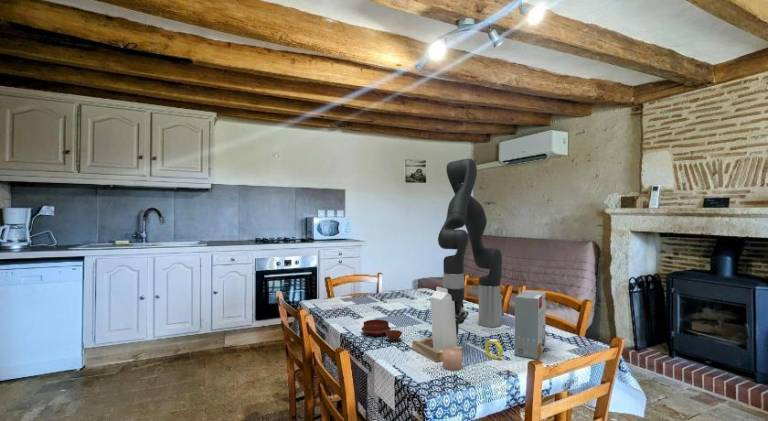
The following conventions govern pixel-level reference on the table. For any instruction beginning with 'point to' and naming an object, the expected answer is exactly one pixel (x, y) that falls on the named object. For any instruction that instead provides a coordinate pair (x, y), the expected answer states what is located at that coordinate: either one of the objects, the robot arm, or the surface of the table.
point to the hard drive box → (530, 323)
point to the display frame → (429, 349)
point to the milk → (443, 320)
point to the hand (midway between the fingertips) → (454, 334)
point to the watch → (498, 348)
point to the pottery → (381, 329)
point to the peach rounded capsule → (452, 359)
